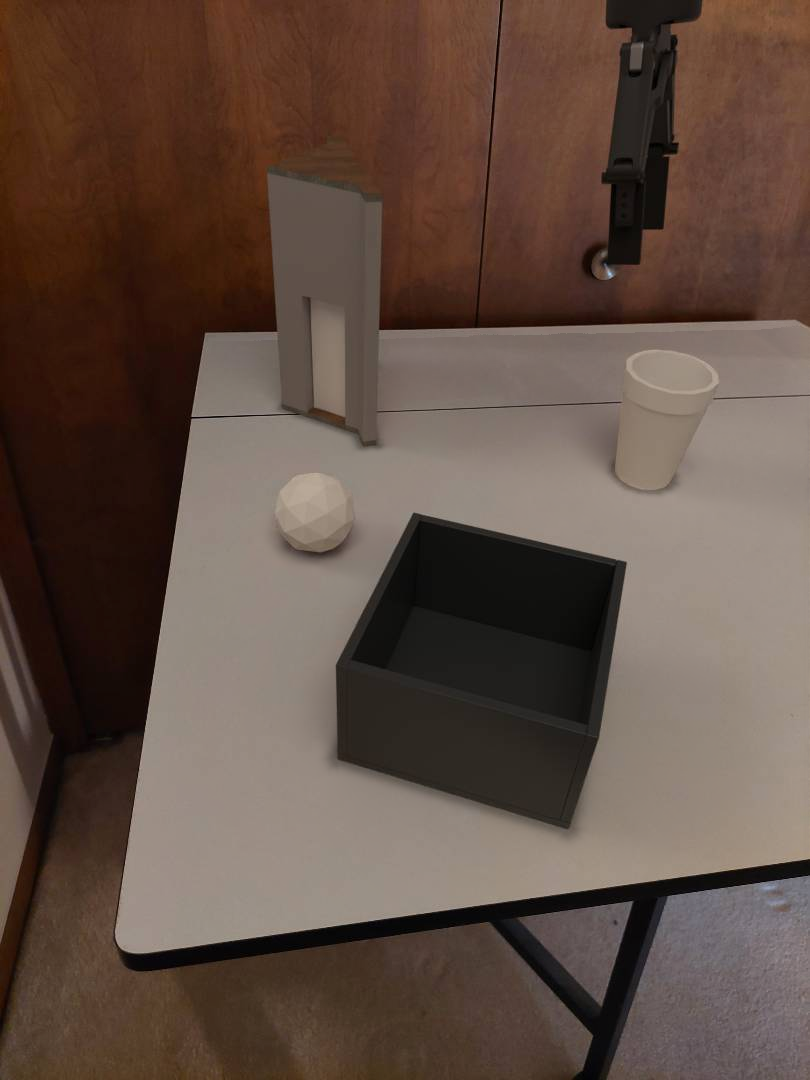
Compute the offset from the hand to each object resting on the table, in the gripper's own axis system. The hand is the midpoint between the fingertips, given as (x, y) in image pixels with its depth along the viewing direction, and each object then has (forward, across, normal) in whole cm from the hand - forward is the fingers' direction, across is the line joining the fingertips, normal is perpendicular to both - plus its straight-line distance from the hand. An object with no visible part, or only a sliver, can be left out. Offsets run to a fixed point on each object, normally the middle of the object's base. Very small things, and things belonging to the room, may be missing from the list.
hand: (637, 245), depth 75 cm
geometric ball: (+24, +23, -26) cm, 42 cm away
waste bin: (+28, +35, -5) cm, 45 cm away
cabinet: (+20, -1, -38) cm, 42 cm away
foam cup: (+26, -4, +2) cm, 26 cm away
